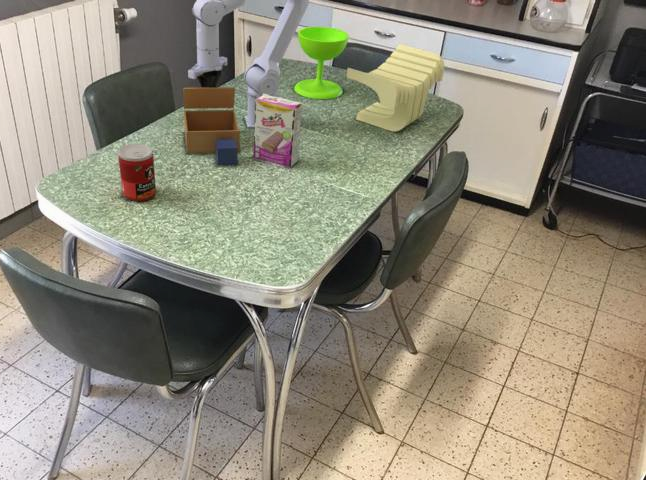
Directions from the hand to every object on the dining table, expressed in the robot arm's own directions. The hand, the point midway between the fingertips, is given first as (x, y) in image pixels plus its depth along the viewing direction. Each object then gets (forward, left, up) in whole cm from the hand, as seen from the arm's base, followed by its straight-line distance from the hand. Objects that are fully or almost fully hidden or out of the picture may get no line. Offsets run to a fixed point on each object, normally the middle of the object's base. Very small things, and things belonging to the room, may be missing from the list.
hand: (208, 97), depth 175 cm
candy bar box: (-16, +19, -10) cm, 27 cm away
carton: (0, +7, -10) cm, 12 cm away
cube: (-3, +19, -10) cm, 22 cm away
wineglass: (-38, -30, -10) cm, 49 cm away
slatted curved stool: (-55, -5, -10) cm, 56 cm away
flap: (0, +2, 0) cm, 2 cm away
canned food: (+19, +34, -10) cm, 40 cm away
